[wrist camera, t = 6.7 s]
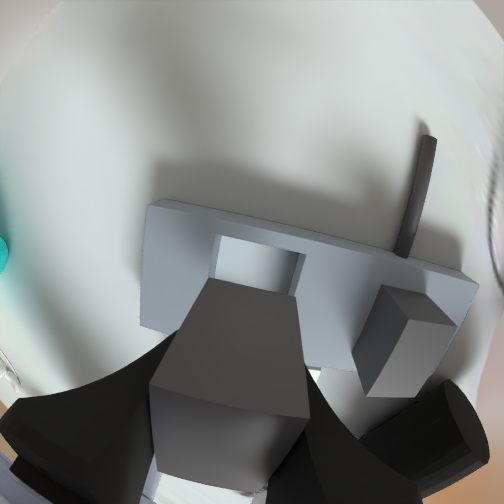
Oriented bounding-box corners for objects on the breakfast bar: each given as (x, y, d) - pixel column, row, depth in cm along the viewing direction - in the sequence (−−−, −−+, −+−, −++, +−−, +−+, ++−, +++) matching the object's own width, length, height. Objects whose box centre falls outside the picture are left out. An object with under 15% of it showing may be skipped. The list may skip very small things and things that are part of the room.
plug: (195, 368, 12) (157, 471, 7) (208, 277, 11) (149, 383, 5) (266, 384, 12) (258, 493, 7) (295, 296, 11) (310, 418, 5)
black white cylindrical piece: (242, 473, 33) (205, 510, 24) (439, 363, 20) (449, 427, 11) (283, 506, 30) (253, 546, 21) (481, 416, 17) (494, 479, 8)
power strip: (153, 308, 19) (112, 361, 13) (189, 77, 14) (145, 36, 8) (420, 357, 19) (451, 409, 13) (488, 172, 14) (548, 183, 8)
